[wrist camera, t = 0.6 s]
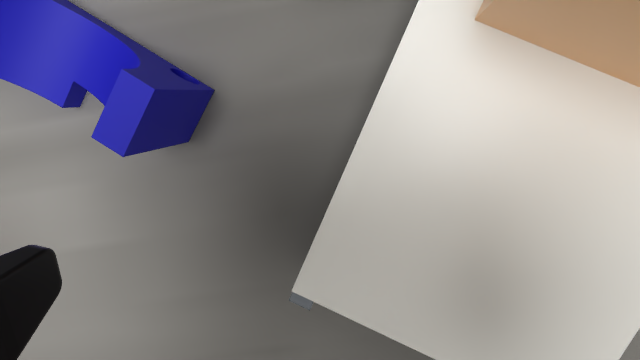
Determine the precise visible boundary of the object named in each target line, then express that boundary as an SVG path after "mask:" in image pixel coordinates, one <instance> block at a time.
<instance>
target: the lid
mask: <svg viewBox="0 0 640 360" xmlns="http://www.w3.org/2000/svg"><path fill="white" fill-rule="evenodd" d="M292 292H294V293H296V294H298V295H300V296H303V297H305V298H307V299H309V300H311V301H313V302H315V303H317V304H319V305H322V306H324V307H326V308H328V309H330V310H332V311H334V312H336V313H338V314H341V315H343V316H345V317H347V318H349V319H351V320H353V321H355V322H357V323H360V324H362V325H364V326H366V327H368V328H370V329H372V330H374V331H376V332H379V333H381V334H383V335H385V336H387V337H389V338H391V339H393V340H395V341H398V342H400V343H402V344H404V345H406V346H408V347H410V348H412V349H414V350H417V351H419V352H421V353H423V354H425V355H427V356H429V357H431V358H433V359H436V360H619V359H620V357H621V356H622V354H623V353H624V351H625V350H626V348H627V346H628V345H629V343H630V342H631V340H632V339H633V337H634V336H635V334H636V333H637V331H638V330H639V328H640V0H419V1H418V3H417V6H416V8H415V10H414V13H413V15H412V17H411V19H410V22H409V24H408V26H407V29H406V31H405V33H404V35H403V38H402V40H401V42H400V45H399V47H398V49H397V51H396V54H395V56H394V58H393V61H392V63H391V65H390V67H389V70H388V72H387V74H386V76H385V79H384V81H383V83H382V86H381V88H380V90H379V92H378V95H377V97H376V99H375V102H374V104H373V106H372V108H371V111H370V113H369V115H368V118H367V120H366V122H365V124H364V127H363V129H362V131H361V134H360V136H359V138H358V140H357V143H356V145H355V147H354V150H353V152H352V154H351V156H350V159H349V161H348V163H347V165H346V168H345V170H344V172H343V175H342V177H341V179H340V181H339V184H338V186H337V188H336V191H335V193H334V195H333V197H332V200H331V202H330V204H329V207H328V209H327V211H326V213H325V216H324V218H323V220H322V223H321V225H320V227H319V229H318V232H317V234H316V236H315V239H314V241H313V243H312V245H311V248H310V250H309V252H308V254H307V257H306V259H305V261H304V264H303V266H302V268H301V270H300V273H299V275H298V277H297V280H296V282H295V284H294V286H293V289H292Z"/></svg>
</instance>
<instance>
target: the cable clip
mask: <svg viewBox="0 0 640 360" xmlns="http://www.w3.org/2000/svg"><path fill="white" fill-rule="evenodd" d="M0 79H3V80H6V81H8V82H11V83H13V84H16V85H18V86H21V87H23V88H25V89H27V90H30V91H32V92H34V93H36V94H38V95H40V96H42V97H44V98H46V99H48V100H50V101H52V102H53V103H55V104H57V105H59V106H60V107H62V108H68V107H80V106H81V103H82V101H83V99H84V96H85V94H86V92H87V90H88V91H89V92H90V93H92V94H93V95H94V96H95V97H96V98H98V99H99V100H100V101H101V102H102V103H103V104H104V106H105V107H104V110H103V112H102V114H101V116H100V119H99V121H98V123H97V125H96V128H95V130H94V132H93V134H92V136H91V137H92V138H94V139H95V140H97V141H98V142H100V143H102V144H103V145H105V146H106V147H108V148H109V149H111V150H113V151H114V152H116V153H117V154H119V155H121V156H122V157H125V156H130V155H134V154H138V153H143V152H147V151H151V150H156V149H160V148H164V147H169V146H173V145H177V144H182V143H186V142H189V140H190V138H191V136H192V134H193V132H194V130H195V128H196V126H197V124H198V122H199V120H200V118H201V116H202V114H203V112H204V110H205V108H206V106H207V104H208V102H209V100H210V98H211V96H212V94H213V92H214V90H213V89H212V88H210V87H208V86H207V85H205V84H204V83H202V82H200V81H199V80H197V79H195V78H194V77H192V76H190V75H189V74H187V73H186V72H184V71H182V70H181V69H179V68H177V67H176V66H174V65H172V64H171V63H169V62H168V61H166V60H164V59H163V58H161V57H159V56H158V55H156V54H154V53H153V52H151V51H150V50H148V49H146V48H145V47H143V46H141V45H140V44H138V43H136V42H135V41H133V40H132V39H130V38H128V37H127V36H125V35H123V34H122V33H120V32H118V31H117V30H115V29H113V28H112V27H110V26H109V25H107V24H105V23H104V22H102V21H100V20H99V19H97V18H95V17H94V16H92V15H91V14H89V13H87V12H86V11H84V10H82V9H81V8H79V7H77V6H76V5H74V4H73V3H71V2H69V1H68V0H0Z"/></svg>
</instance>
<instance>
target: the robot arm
mask: <svg viewBox="0 0 640 360" xmlns="http://www.w3.org/2000/svg"><path fill="white" fill-rule="evenodd" d="M61 286H62V279H61V275H60V271H59V266H58V262H57V258H56V255H55V252H54V251H53V250H52V249H50V248H46V247H41V246H37V245H28V246H25V247H22V248H20V249H17V250H14V251H12V252H9V253H6V254H4V255H1V256H0V360H17V358H18V357H19V355H20V354H21V352H22V351H23V349H24V348H25V346H26V345H27V343H28V342H29V340H30V338H31V337H32V335H33V334H34V332H35V331H36V329H37V327H38V326H39V324H40V323H41V321H42V320H43V318H44V316H45V315H46V313H47V312H48V310H49V309H50V307H51V305H52V304H53V302H54V301H55V299H56V298H57V296H58V294H59V292H60V290H61Z"/></svg>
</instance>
